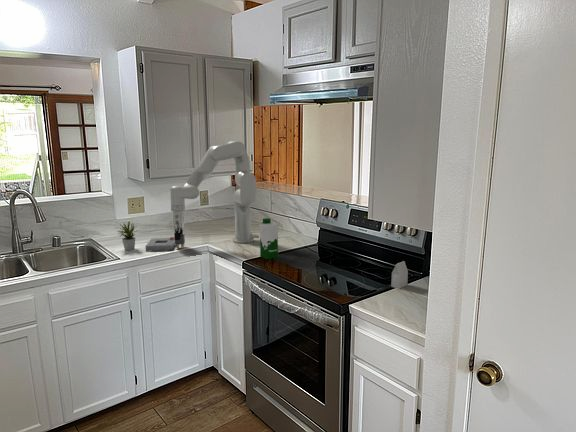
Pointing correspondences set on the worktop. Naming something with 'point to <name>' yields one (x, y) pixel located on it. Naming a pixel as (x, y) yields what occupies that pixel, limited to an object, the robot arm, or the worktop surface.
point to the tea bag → (399, 275)
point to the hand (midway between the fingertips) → (178, 237)
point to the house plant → (128, 236)
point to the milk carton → (268, 239)
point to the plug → (180, 241)
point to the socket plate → (160, 244)
